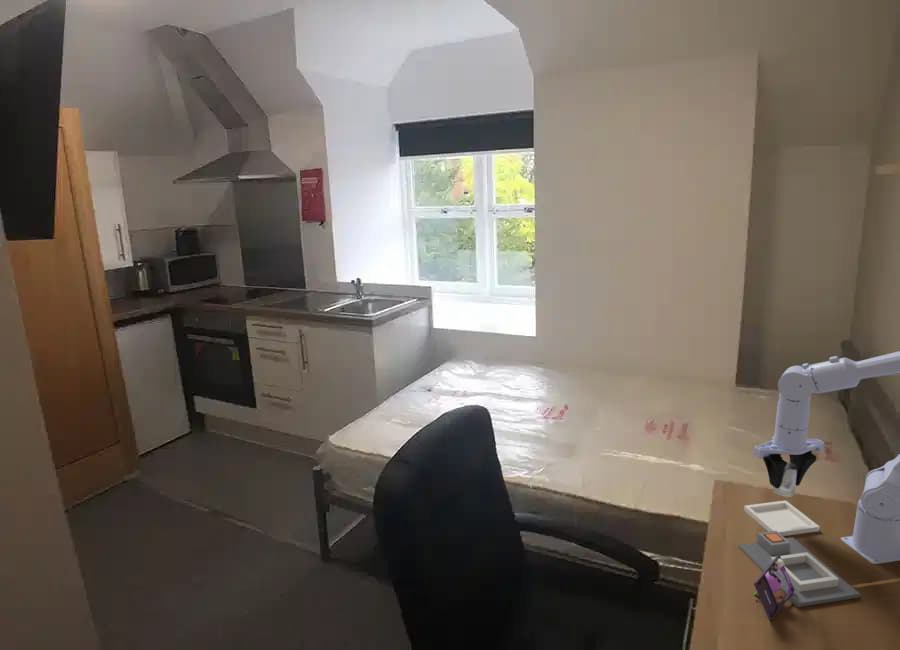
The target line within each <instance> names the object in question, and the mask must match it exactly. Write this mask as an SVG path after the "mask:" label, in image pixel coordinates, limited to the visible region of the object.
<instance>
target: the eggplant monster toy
mask: <svg viewBox="0 0 900 650" xmlns="http://www.w3.org/2000/svg"><path fill="white" fill-rule="evenodd" d="M776 561H777V562H776ZM775 562H776V563H777V564H776V563H775ZM772 566H773V568H772ZM778 567H779V568H780V570H781V571H782V573H783V575H784V577H785V579H786V581H787V583H788V586H789V588H788V594H787V595H786V594H785V595H786V596H785V595H784V597H783V599H782V600H781V602H779V604H778V601H777V600H776V598H775V595H774V594H775V593H776V592H778V591H779V590H781V589H780V587H782V586H781V585H783V584H781V580H782V578H780V579H779V578H778V577H777V576H776V571H777V570H778ZM768 571H769V573H768ZM774 571H775V572H774ZM753 585H754V588H755V590H756V591H755V592H754V593H753V594H752V595H753V596H755V597H757V596H758V597H759V599H760V601H761V604H762V607H763V609H764V611H765V614H766V616H767V618H768V620H769V621H773V620H774V618H775V617H776V616H777V614H778V613H779V612H780V610H781V609H782V608H783V607H784V606H785V604H786V603H787V601H788V600H789V597H790V596H791V595H792V593H793V592H794V588H793V585H792V583H791V581H790V578H789V576H788V574H787V571H786V569H785V567H784V562H783V560H781V557H780V556H776V557H775V559H774V560H773V561H772V562H771V563H770V564H769V566H768V567H767V568H766V569H765V570H764V571H762V573H761V574H760V575H759V576H758V577H757V578H756V579H755V581H754V582H753ZM790 589H791V590H790Z"/></svg>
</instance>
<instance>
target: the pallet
mask: <svg viewBox="0 0 900 650" xmlns="http://www.w3.org/2000/svg"><path fill="white" fill-rule="evenodd" d="M774 533H776V534H777V535H778V536H779V537H780V538H781V539H782V540H783V542H777V543H772V542H771V541H769V540H768V539H767V538H766V537H765V535H767V534H774ZM737 548H738V549H740V551H741V552H742V553H744V554H745V555H746V556H747V558H748V559H750V561H752V563H754V565H756V566H757V567H758V568H759V569H760V571H762V572H763V571H764V570H765V569H766V568H767V567H768V566H769V564H770V563H771V562H772V561H773V560H774V559H775V557H776V556H780V557H781V560H783V562H784V567H785V569H786V571H787V574H788V576H789V578H790V581H791V583H792V585H793V588H794V592H793V593H792V595H791V596H790V597H789V599H788V600H789V601H790V602H791V603H792V604H793V605H794V606H795V607H796V608H803V607H806V606H813V605H820V604H827V603H833V602H838V601H839V602H840V601H846V600H851V599H859V598H860V596H861V593H860V592H859V591H857V589H855V588H854V587H852V586H851V585H850V584H849V583H848V582H847V581H845V580H844V579H843V578H842V577H841V576H840V575H838V574H837V573H836V572H835V571H834V570H833V569H831V568H830V567H829V566H828V565H826V563H824V562H823V561H822V560H820V558H818V557H817V556H816V555H815V554H814V553H813V552H811V551H810V550H809V549H808V548H806V547H805V546H804V545H802V543H801V542H799V541H798V540H797V539H796V538H794V537H793V536H792V537H785V536H782V535H781V534H780V533H779V532H777V531H769V532H768V531H763V532H758V533H757V539H756V541H755V542H749V543H741V544H738V545H737ZM776 562H777V561H776ZM776 562H775V563H776ZM776 564H777V563H776ZM772 568H773V566H772ZM774 572H775V571H774ZM768 573H769V571H768ZM776 576H777V577H778V578H779V579H780V578H782V580H781V584H783V585H781V586H782V587H780V589H779V590H781V591H782V592H783V593H784V597H785V596H786V595H787V594H788V588H789V586H788V583H787V581H786V579H785V577H784V575H783V573H782V571H781V570H780V568H779V567H778V570H777V571H776ZM790 590H791V589H790Z"/></svg>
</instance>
